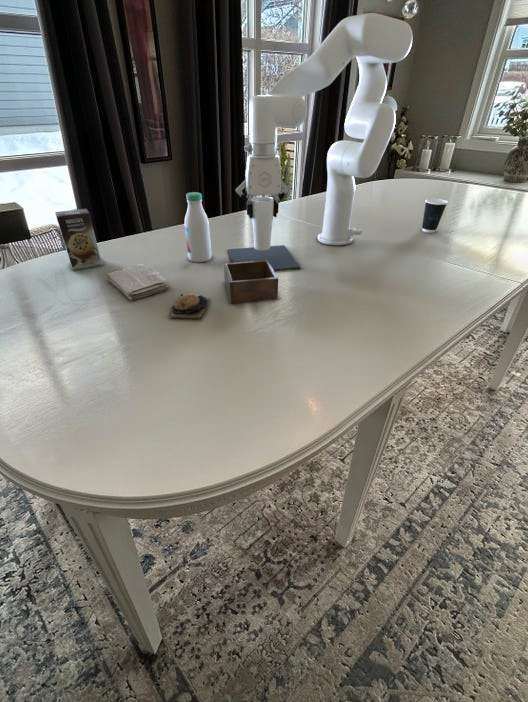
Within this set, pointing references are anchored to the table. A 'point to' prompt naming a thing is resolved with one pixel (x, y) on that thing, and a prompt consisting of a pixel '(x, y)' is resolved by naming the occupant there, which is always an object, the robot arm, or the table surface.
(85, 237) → the cookie box
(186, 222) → the milk bottle
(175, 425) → the table surface
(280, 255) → the mat
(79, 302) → the table surface
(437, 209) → the dixie cup
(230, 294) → the box
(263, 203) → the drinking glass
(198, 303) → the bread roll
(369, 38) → the robot arm
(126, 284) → the washcloth
